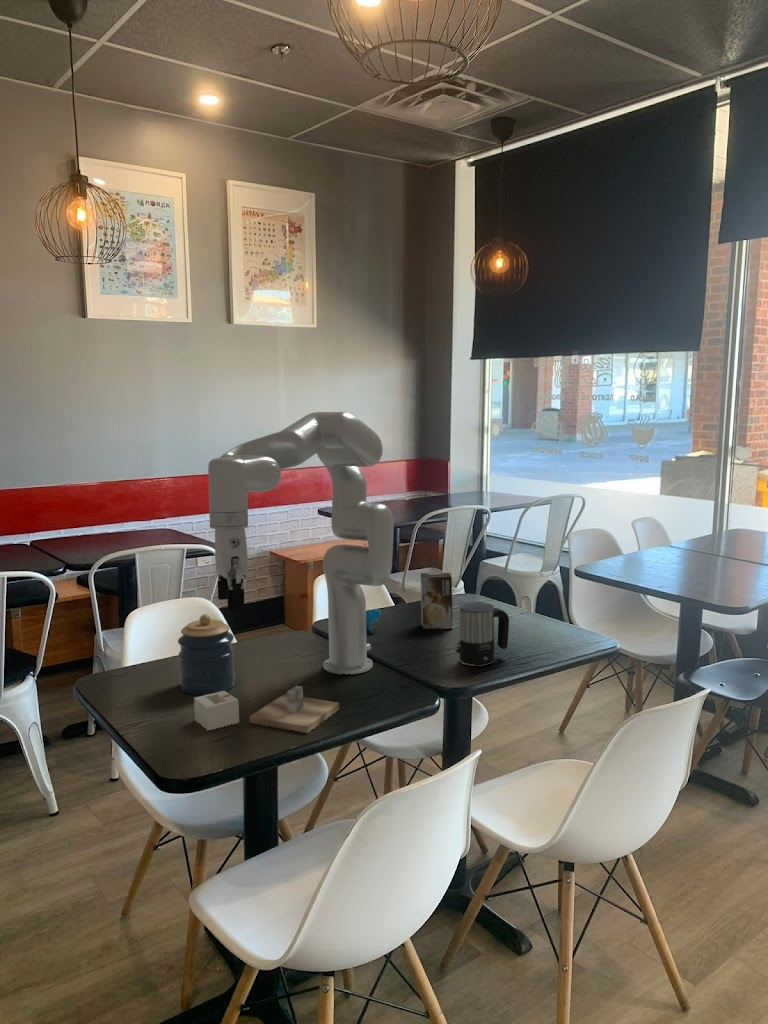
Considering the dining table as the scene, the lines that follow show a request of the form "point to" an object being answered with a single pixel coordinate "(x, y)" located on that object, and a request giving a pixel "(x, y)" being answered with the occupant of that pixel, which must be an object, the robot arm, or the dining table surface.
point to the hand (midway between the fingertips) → (230, 603)
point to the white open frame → (216, 710)
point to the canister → (206, 657)
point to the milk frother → (481, 632)
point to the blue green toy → (372, 617)
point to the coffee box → (436, 600)
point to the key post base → (295, 712)
